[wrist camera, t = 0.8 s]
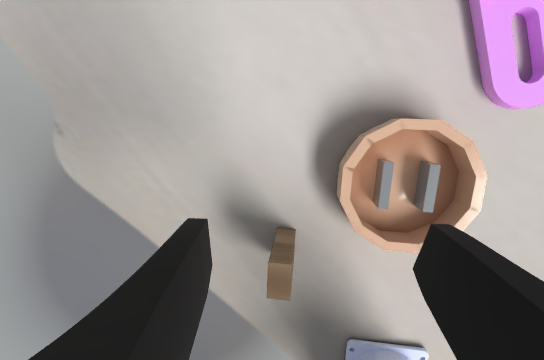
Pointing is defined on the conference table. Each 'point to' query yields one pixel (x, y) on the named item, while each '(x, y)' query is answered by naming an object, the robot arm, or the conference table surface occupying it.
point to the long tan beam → (281, 265)
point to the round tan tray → (410, 182)
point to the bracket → (509, 51)
